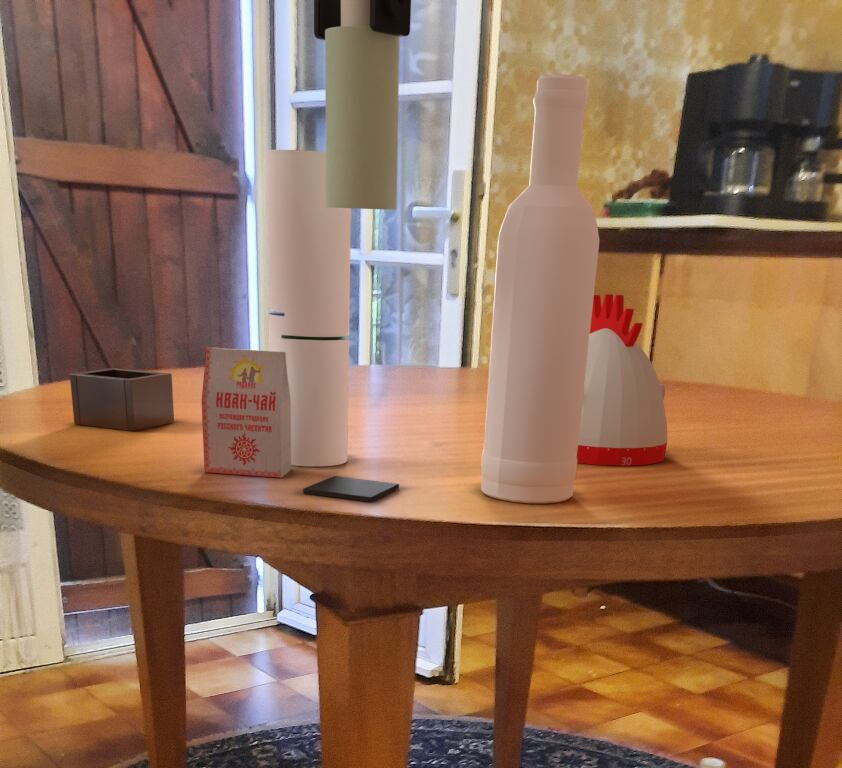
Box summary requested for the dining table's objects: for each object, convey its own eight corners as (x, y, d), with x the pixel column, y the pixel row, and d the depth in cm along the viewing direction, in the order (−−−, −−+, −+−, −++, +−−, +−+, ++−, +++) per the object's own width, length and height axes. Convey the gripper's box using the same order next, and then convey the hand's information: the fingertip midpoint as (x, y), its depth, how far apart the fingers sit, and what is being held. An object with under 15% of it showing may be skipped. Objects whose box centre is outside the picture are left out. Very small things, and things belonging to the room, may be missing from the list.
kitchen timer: (602, 438, 119) (619, 291, 112) (693, 460, 108) (717, 300, 102) (502, 444, 112) (514, 288, 105) (588, 469, 101) (608, 298, 95)
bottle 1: (314, 207, 78) (311, -64, 71) (343, 208, 82) (343, -47, 75) (380, 209, 76) (383, -67, 69) (406, 210, 81) (412, -50, 74)
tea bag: (217, 464, 95) (212, 345, 91) (291, 469, 95) (290, 350, 91) (204, 472, 92) (199, 349, 88) (281, 477, 92) (279, 354, 87)
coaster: (302, 493, 86) (302, 488, 86) (334, 480, 92) (334, 475, 91) (371, 502, 85) (371, 497, 84) (399, 488, 90) (399, 483, 90)
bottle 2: (588, 493, 91) (634, 83, 78) (548, 509, 85) (590, 67, 72) (506, 479, 95) (537, 86, 82) (461, 493, 89) (487, 71, 76)
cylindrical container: (314, 449, 104) (314, 157, 94) (363, 461, 100) (369, 156, 89) (255, 456, 100) (248, 150, 89) (303, 469, 95) (302, 148, 84)
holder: (73, 424, 111) (69, 373, 109) (116, 415, 117) (112, 367, 115) (134, 431, 109) (131, 380, 107) (174, 422, 115) (171, 373, 113)
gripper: (238, -290, 70) (245, 39, 78) (417, -378, 59) (404, 16, 67) (327, -252, 75) (326, 55, 82) (508, -327, 64) (486, 35, 71)
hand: (361, 34), depth 74 cm, fingers closed on bottle 1, 5 cm apart
